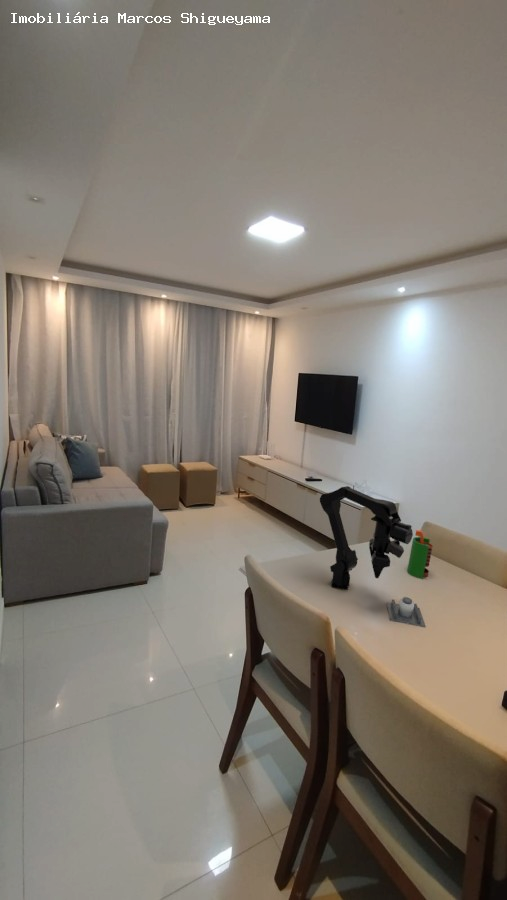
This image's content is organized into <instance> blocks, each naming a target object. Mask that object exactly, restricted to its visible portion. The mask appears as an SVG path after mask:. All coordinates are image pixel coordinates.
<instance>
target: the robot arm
mask: <svg viewBox="0 0 507 900" xmlns="http://www.w3.org/2000/svg"><path fill="white" fill-rule="evenodd" d="M344 499H347V500H350V502H351V501H352V502H354V504H355V503H356V504H357V505H360V506H362V507H364V508H366V509H369V510H370V512H371V513H372V514H373V515H374V516H373V517H371V518H370V520H371V521H373V522H375V527H374V532H373V535H372V536H373V538H371V539H370V540H369V543H368V546H369V547H368V548H369V552H370V553H369V554H370V558H371V566H372V569H373V573H374V579H379V577H380V575H381V574H382V572H383V570H384V568H385V569H386V568H389V567H390V566H391V559H390V556H389V555H390V554H391V555H394V556H396V557H397V558H398V559H400V558H401V557H402V556H403V554H404V552H405V549H404V547H403V546H402V545H401V543H402V544H406V545H409V544H410V543H411V541H412V540H413V536H414V534H413V533H414V532H413V529H412V527H413V526H412V525H410V524H405V523H403V522H402V519H401V517H400V515H399V513H398V510H397V509H398V507H397V506H396V503H395V502H393V501H390V500H385V499H378V498H375V497H372V496H370V495H368V494H366V493H363V492H362V491H359V490H357V489H353V488H352V487H350V486H348V485H346V486H341V487H339V488H338V489H336V490H334V491H330V492H326V493H323V494H321V495H320V497H319V504H320V506H321V508H322V510H323V512H325V514H326V515H327V517H328V521H329V524H330V527H331V529H330V530H331V532H332V534H333V535H332V536H333V539H334V544H335V547H336V553H335V563H334V564H332V565H330V572H331V573H332V578H331V587H332V588H335V589H341V590H348V589H349V587H350V580H351V574H350V572H351V571H352V570H353V569H355V568H356V567H357V565H358V560H359V558H358V557H357V552H356V550H355V549H351V548H350V546H349V543H348V540H347V535H346V532H345V529H344V528H345V527H344V525H343V520H342V517H341V513H340V511H341V507H342V506H341V505H342V504H341V501H342V500H344ZM391 539H392V540H391Z"/></svg>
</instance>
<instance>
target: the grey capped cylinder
mask: <svg viewBox="0 0 507 900" xmlns="http://www.w3.org/2000/svg"><path fill="white" fill-rule="evenodd" d="M398 604H399V609H398V612H399V614H401V615H402V616H405V617H412V615H413V609H414V604H415V602H414V601H413V599H411V598H409V597H406V596H404V597H403V598H400V599H399V603H398Z"/></svg>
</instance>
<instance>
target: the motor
mask: <svg viewBox="0 0 507 900" xmlns="http://www.w3.org/2000/svg"><path fill="white" fill-rule="evenodd" d="M415 536H416V537H412V543H411V548H410V552H409V553H410V554H409V558H408V564H407V569H406V570H407V571H406V572H407V574H409V575H410V576H412V577H414V578H417V579H422V580H423V578H424V579H427V578H428V577H429V573H430V571H429V569H428V568H427V567H429V566H430V562H431V558H432V552H433V548H434V547H433V544H431V542H430V541H431V539H430V538H426V537H424V533H423V531H422V530H418V529H417V530H415Z"/></svg>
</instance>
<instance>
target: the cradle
mask: <svg viewBox="0 0 507 900" xmlns="http://www.w3.org/2000/svg"><path fill="white" fill-rule="evenodd" d="M386 609H387V613H388V616H389V618H388V619H389V621H390V622H396V623H400V624H401V623H402V624H407V625H412V626H416V627H422V628H426V623H425V620H424V617H423V615H422V611H421V609H420V607H418V603H414V609H413V615H412V617H405V616H402V615H401V614H399V612H398V609H399V603H396V600H395V599H393V598H392V599H391V602H390V601H386Z"/></svg>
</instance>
